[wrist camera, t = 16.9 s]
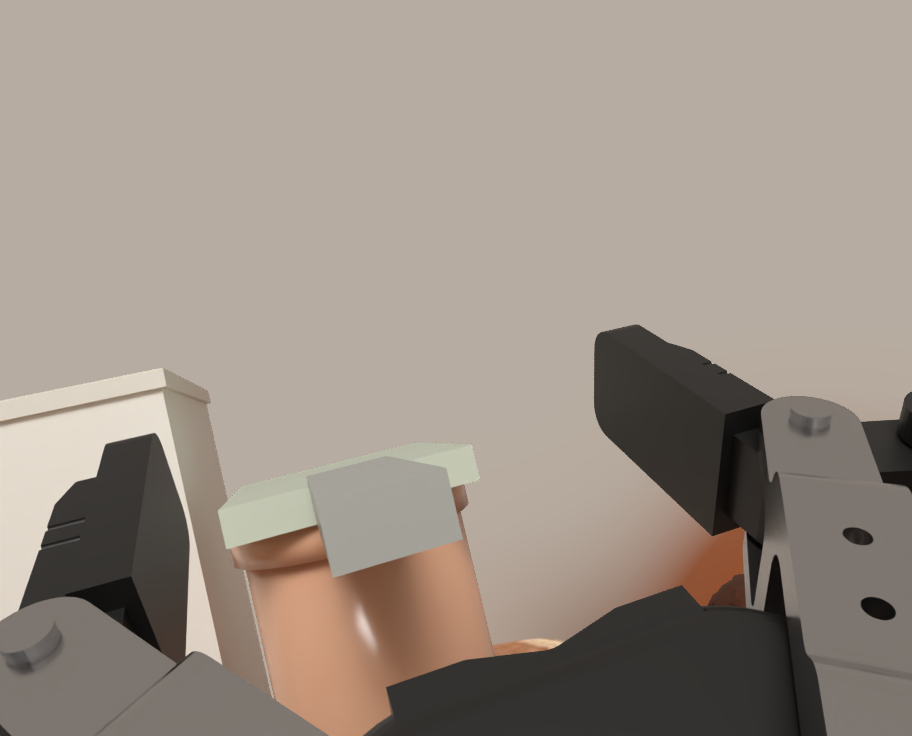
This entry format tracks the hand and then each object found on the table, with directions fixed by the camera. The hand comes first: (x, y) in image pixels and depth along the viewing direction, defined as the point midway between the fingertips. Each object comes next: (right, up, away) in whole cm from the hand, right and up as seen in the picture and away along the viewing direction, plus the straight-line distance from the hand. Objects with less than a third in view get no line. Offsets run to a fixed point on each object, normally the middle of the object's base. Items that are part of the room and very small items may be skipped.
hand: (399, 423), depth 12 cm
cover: (-3, -5, +18) cm, 19 cm away
